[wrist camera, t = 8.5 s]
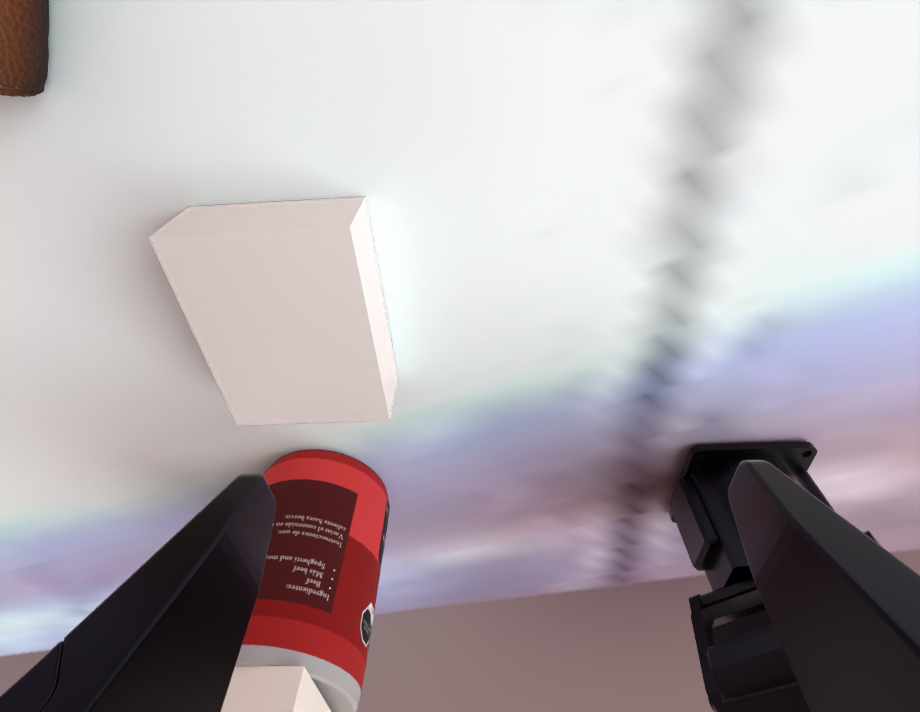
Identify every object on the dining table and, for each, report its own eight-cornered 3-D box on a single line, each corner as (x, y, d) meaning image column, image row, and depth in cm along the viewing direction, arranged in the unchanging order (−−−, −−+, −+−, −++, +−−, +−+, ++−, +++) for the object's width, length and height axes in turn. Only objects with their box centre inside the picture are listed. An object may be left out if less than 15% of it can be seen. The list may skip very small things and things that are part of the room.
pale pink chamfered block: (365, 196, 19) (349, 226, 16) (397, 378, 24) (389, 420, 22) (188, 206, 19) (148, 237, 17) (259, 383, 24) (236, 425, 22)
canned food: (330, 541, 33) (278, 743, 24) (235, 478, 29) (131, 690, 20) (418, 502, 30) (397, 713, 21) (326, 426, 26) (252, 645, 17)
